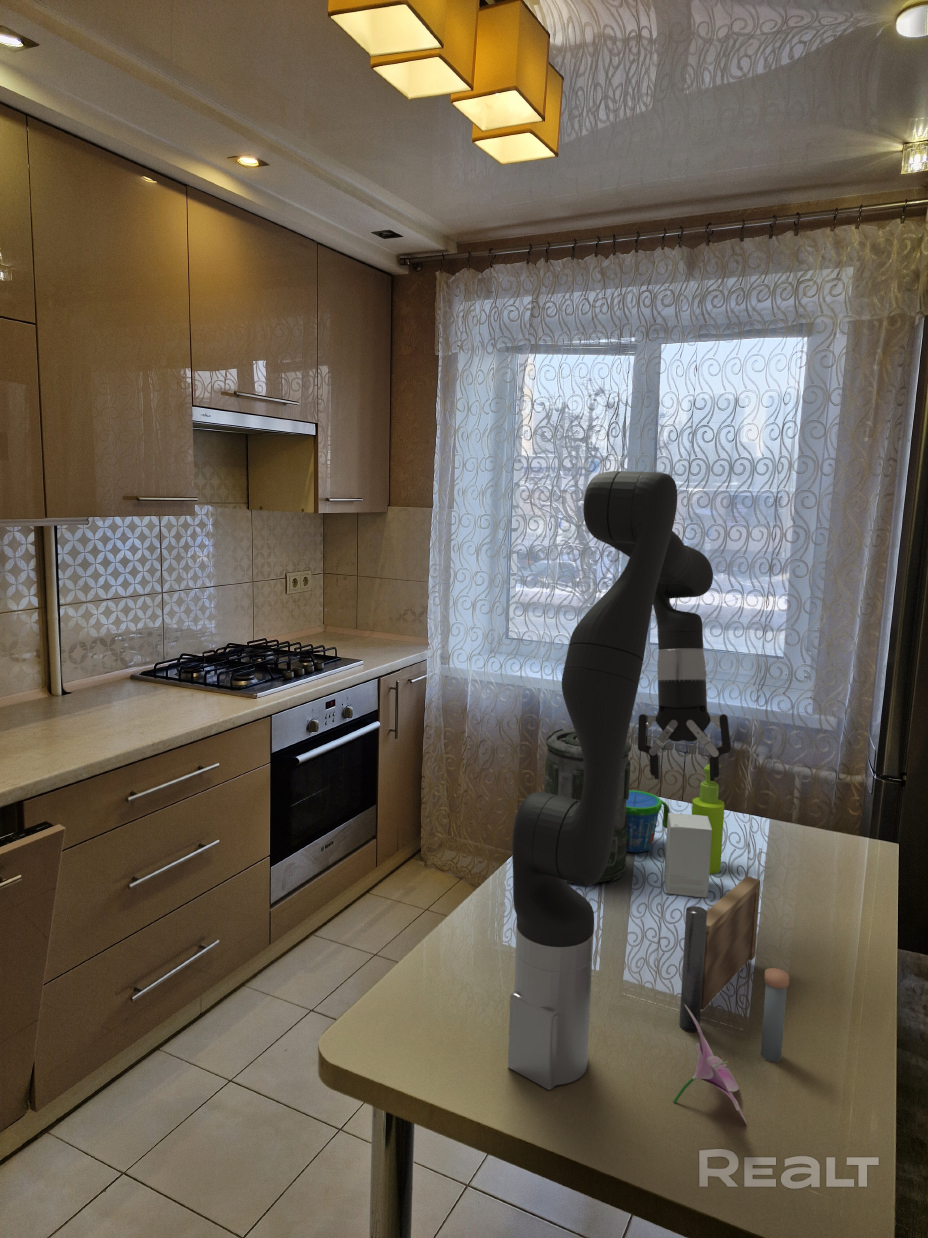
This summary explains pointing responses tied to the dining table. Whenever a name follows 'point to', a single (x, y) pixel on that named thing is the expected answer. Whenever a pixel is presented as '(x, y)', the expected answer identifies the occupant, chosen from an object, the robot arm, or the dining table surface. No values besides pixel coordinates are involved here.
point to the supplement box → (687, 855)
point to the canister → (568, 782)
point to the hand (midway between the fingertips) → (685, 780)
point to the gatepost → (693, 967)
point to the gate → (730, 937)
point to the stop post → (774, 1013)
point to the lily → (712, 1070)
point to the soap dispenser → (711, 816)
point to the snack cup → (643, 819)
